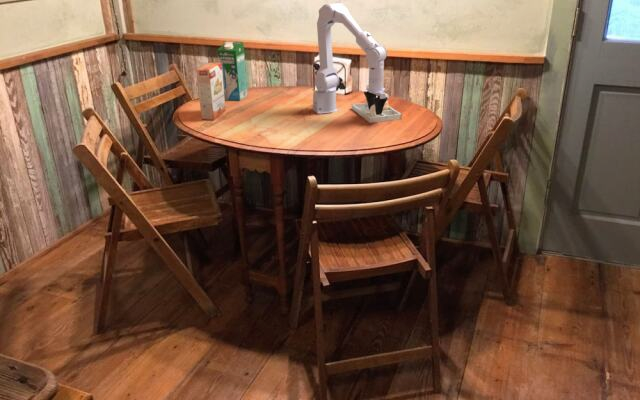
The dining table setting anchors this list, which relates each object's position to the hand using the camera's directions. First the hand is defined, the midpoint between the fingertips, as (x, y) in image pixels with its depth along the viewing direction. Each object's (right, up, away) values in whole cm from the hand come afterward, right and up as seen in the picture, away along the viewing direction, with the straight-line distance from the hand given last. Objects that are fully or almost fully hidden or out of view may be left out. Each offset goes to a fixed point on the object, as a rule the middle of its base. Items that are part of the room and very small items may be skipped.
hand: (375, 111), depth 220 cm
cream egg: (0, -3, +1) cm, 3 cm away
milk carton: (-62, +12, +36) cm, 73 cm away
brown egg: (+4, +1, +9) cm, 10 cm away
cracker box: (-67, 0, +12) cm, 68 cm away
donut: (+6, +9, +23) cm, 26 cm away
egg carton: (+1, 0, +8) cm, 8 cm away
